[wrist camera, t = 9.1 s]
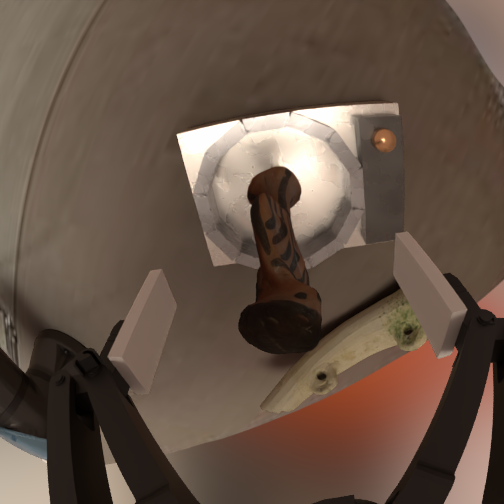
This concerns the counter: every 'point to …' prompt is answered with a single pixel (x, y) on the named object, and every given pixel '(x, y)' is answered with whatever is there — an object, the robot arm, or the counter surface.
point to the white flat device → (301, 176)
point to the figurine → (279, 271)
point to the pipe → (348, 350)
